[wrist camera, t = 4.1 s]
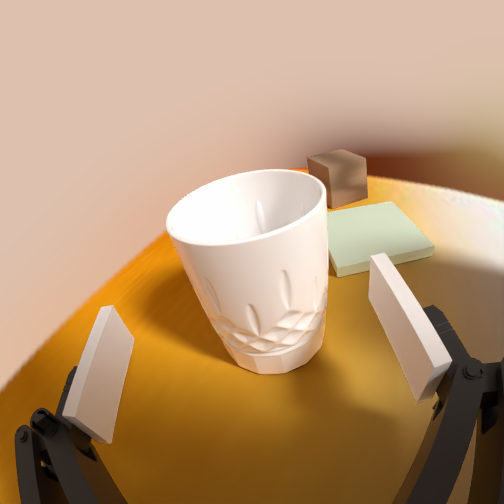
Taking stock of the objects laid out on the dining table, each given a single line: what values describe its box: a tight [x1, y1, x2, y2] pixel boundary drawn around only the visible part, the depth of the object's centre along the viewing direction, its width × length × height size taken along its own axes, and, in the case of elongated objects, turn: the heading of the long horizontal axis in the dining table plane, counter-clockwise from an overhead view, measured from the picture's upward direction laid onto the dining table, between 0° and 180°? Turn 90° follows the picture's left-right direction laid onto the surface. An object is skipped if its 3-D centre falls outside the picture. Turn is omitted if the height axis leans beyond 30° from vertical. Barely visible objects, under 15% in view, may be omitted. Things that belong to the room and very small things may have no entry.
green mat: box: [327, 201, 434, 277], centre depth 26 cm, size 9×9×1 cm
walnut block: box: [307, 149, 368, 209], centre depth 34 cm, size 5×5×5 cm
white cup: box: [165, 169, 329, 374], centre depth 17 cm, size 8×8×10 cm
